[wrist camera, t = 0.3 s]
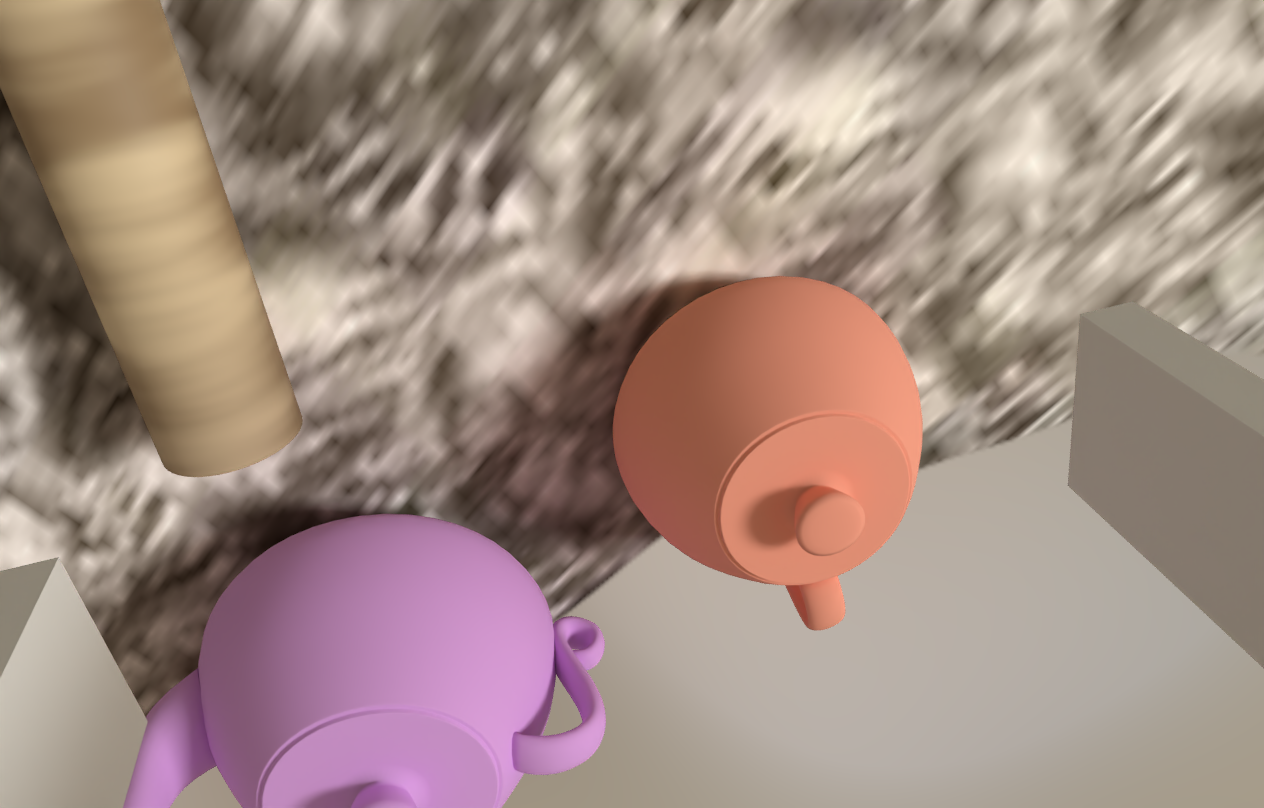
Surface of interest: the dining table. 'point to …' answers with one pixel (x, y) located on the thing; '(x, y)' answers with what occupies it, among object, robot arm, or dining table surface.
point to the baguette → (149, 226)
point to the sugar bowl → (773, 435)
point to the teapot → (375, 676)
